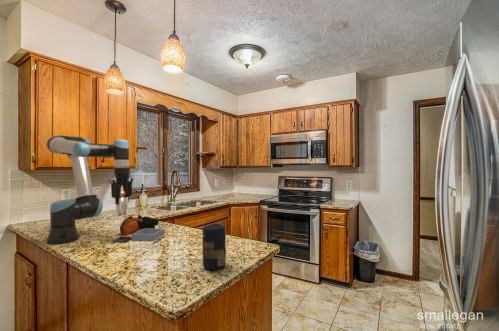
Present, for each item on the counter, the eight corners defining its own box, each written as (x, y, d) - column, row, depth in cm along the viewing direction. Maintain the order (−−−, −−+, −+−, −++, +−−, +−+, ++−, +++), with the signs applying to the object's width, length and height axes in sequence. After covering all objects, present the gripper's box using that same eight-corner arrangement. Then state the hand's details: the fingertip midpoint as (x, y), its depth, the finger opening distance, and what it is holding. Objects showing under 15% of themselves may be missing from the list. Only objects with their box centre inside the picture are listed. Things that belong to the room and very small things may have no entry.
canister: (204, 263, 107) (203, 221, 107) (226, 261, 108) (225, 220, 108) (201, 272, 98) (200, 226, 98) (225, 271, 98) (225, 225, 98)
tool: (154, 243, 160) (161, 220, 165) (120, 237, 144) (130, 211, 148) (147, 240, 165) (155, 218, 170) (114, 235, 149) (123, 210, 153)
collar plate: (108, 245, 134) (107, 240, 134) (119, 239, 144) (119, 235, 144) (125, 245, 133) (125, 241, 133) (135, 240, 143) (135, 235, 143)
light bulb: (116, 216, 135) (114, 192, 135) (117, 215, 140) (115, 192, 140) (127, 214, 137) (125, 191, 137) (127, 213, 142) (125, 191, 142)
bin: (131, 243, 137) (131, 234, 137) (144, 236, 149) (143, 228, 149) (153, 243, 135) (153, 234, 135) (164, 237, 148) (164, 228, 148)
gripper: (113, 167, 129) (113, 212, 129) (138, 167, 145) (139, 207, 145) (102, 167, 132) (103, 211, 132) (129, 167, 148) (129, 206, 148)
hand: (122, 209), depth 138 cm, fingers closed on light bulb, 4 cm apart
